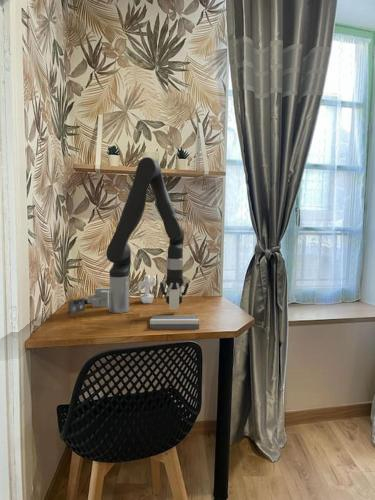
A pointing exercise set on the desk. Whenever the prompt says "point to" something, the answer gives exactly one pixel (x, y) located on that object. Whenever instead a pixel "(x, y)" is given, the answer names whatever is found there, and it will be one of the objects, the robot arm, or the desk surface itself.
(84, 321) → the desk surface
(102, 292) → the grey stepped block
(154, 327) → the shelf board
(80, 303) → the mini dv tape
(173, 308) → the tea carton
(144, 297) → the white potted plant
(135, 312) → the desk surface
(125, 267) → the robot arm
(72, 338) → the desk surface
